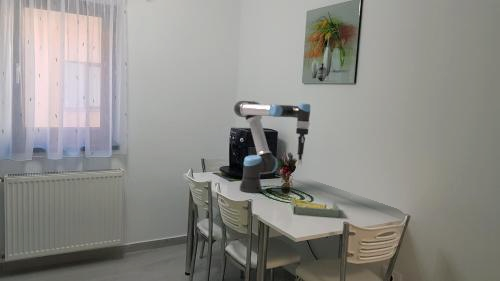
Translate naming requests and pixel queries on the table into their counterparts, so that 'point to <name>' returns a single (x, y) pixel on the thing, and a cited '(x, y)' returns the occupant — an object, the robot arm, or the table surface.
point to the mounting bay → (316, 210)
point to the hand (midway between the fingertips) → (299, 164)
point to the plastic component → (307, 204)
